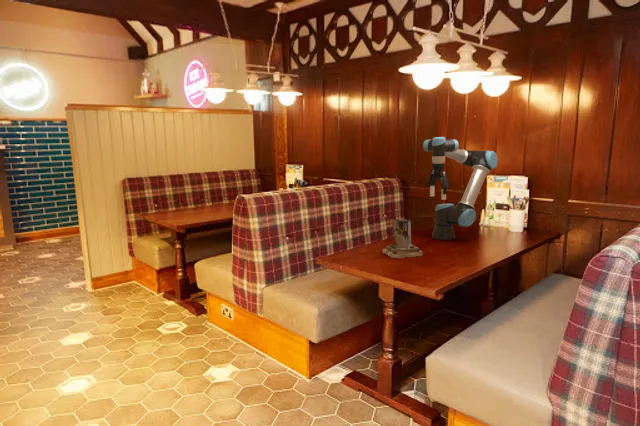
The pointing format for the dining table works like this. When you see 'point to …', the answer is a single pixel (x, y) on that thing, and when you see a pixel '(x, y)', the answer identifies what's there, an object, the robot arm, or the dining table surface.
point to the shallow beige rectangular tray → (402, 251)
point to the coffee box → (402, 233)
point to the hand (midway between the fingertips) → (437, 197)
